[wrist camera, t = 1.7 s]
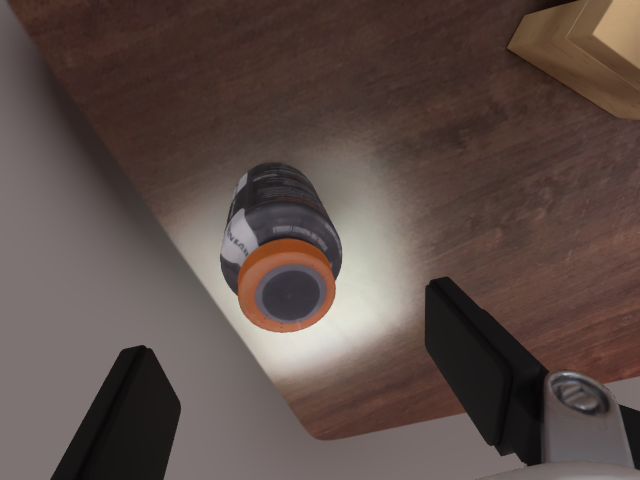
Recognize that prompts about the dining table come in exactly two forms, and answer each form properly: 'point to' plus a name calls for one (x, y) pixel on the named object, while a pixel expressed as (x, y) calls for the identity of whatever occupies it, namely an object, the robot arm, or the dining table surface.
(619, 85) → the shelf
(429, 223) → the dining table surface
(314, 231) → the pill bottle
